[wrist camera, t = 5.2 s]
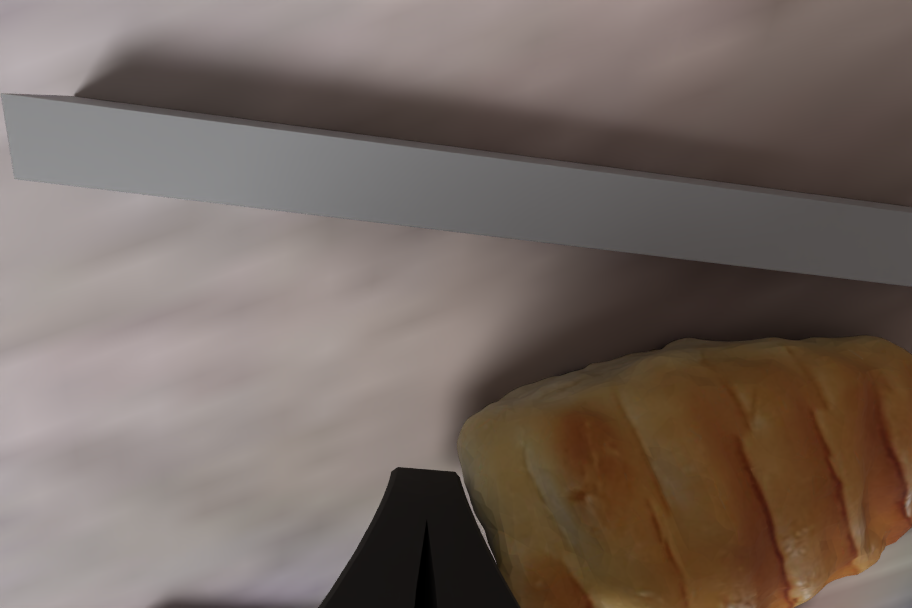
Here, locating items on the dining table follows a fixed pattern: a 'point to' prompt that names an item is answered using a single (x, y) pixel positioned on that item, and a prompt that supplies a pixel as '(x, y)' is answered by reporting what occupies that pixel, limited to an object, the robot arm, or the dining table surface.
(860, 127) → the dining table surface
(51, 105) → the bay
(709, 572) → the pastry
